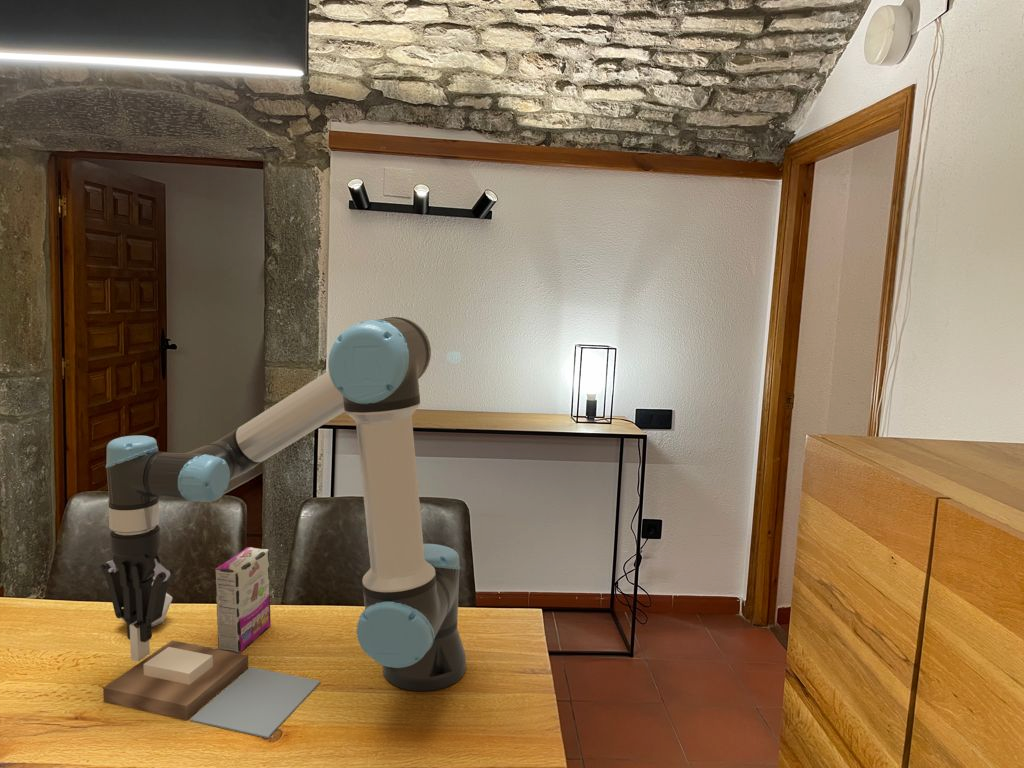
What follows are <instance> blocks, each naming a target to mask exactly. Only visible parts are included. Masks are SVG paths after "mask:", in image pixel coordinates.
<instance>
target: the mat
mask: <svg viewBox="0 0 1024 768" xmlns="http://www.w3.org/2000/svg"><path fill="white" fill-rule="evenodd" d="M320 684H321V680H318V679H313V678H307V677H304V676H303V677H302V676H297V675H294V674H287V673H283V672H278V671H273V670H267V669H263V668H257V667H252V666H250V667H248V669H246V670H245V671H244V672H243V673H242V674H241V675H239V676H238V677H237V678H236V679H235V680H234V681H232V682H231V683H230V684H229V685H228V686H227V687H225V688H224V689H223V690H222V691H221V692H220V693H218V694H217V695H216V696H215V697H214V698H213V699H211V700H210V701H209V702H208V703H207V704H206V705H205V706H203V707H202V708H201V709H200V710H199V711H198V712H196V713H195V714H194V715H193V716H192V717H191V718H189V721H190V722H193V723H198V724H200V725H205V726H211V727H216V728H220V729H225V730H229V731H233V732H237V733H241V734H247V735H250V736H256V737H260V738H264V739H269V738H271V736H272V735H273V734H274V733H275V732H276V731H277V729H279V727H280V726H282V724H283V723H284V722H285V721H286V720H287V719H288V717H290V716H291V714H293V712H295V710H296V709H297V708H298V707H299V706H300V705H301V704H302V703H303V702H304V701H305V700H306V699H307V698H308V696H309V695H310V694H311V693H312V692H313V691H314V690H315V689H316V688H317V687H318V686H319V685H320Z"/></svg>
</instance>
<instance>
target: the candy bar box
mask: <svg viewBox="0 0 1024 768" xmlns="http://www.w3.org/2000/svg"><path fill="white" fill-rule="evenodd" d="M269 553H270V551H269V549H268V548H260V547H252V546H249V547H245V548H244V549H243V550H242V551H240V552H239V553H237V554H236V555H234V556H233V557H231V558H230V559H228V560H227V561H225V562H224V563H223V564H220V565H219V566H217V567H216V568H215V569H214V573H215V598H216V619H217V621H216V623H217V643H218V644H217V647H218V648H217V649H219V650H224V651H229V652H234V653H239V654H241V653H242V652H243V651H244V650H245V649H246V648H248V647H249V645H251V644H253V642H254V641H255V640H256V639H257V638H258V637H259V636H260V635H262V634H263V633H264V632H265V631H266V630H267V629H269V627H271V624H272V621H271V596H270V595H271V593H270V592H271V591H270V590H271V587H270V560H269V559H270V554H269Z"/></svg>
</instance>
